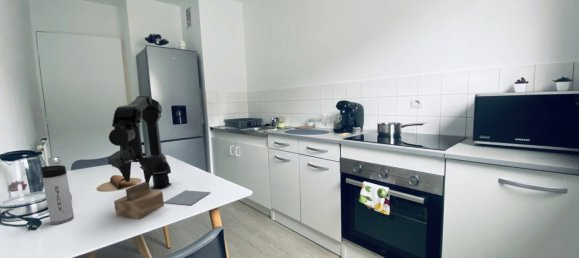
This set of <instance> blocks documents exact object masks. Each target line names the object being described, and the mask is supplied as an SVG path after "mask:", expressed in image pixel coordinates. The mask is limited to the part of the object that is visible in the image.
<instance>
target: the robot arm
mask: <svg viewBox="0 0 579 258" xmlns="http://www.w3.org/2000/svg"><path fill="white" fill-rule="evenodd" d="M162 112H163V109H162V105H161V104H160V102H159V101H158V100H155V99H154V98H152V97H151V95H139V96H136V98H135V99H134V100H133V101H131V102H130V103H129V104H126V105H120V106H117V107H116V109H115V110H114V115H113V118H112V124H111V127H112V128H113V127H114V128H113V129H112V130H111V131H110V132H109V134H108V140H109V141H110V143H111V144H113V146H118V147H119V150H118V151H115V152H114V153H112V154H111V155H109V156H107V161H108V165H109V166H110V165H111V166H112V167H113V168H116V169H118V170H119V172H120V173H121V174H120V175H121V176H123V177H124V179H125V180H126V182H129V181H130V179H131V171H132V163H139V168H140V169H141V170H142V171H143V176H144V182H146V183H149V184H150V180H151V179H152V183H153V185H152V186H151V187H150V189H158V190H162V189H165V188H167V187H169V186H172V183H171V182H170V178H169V174H171V172H172V171H171V166H170V164H169V163H168V161H167V156H165V155H164V153H162V152H163V151H162V145H161V138H160V137H161V135H160V127H159V121H160V119H161V117H162ZM142 120H143V121H144V122H145V123H146V128H147V136H148V144H149V154H148V155H147V153H146V152H143V146H145V142H144V141H142V136H141V129H140V127H141V125H140V123H142Z"/></svg>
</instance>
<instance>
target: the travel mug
mask: <svg viewBox="0 0 579 258" xmlns="http://www.w3.org/2000/svg"><path fill="white" fill-rule="evenodd" d="M65 167H66V166H65V165H64V166H61V165H56V166H49V165H45V166H41V167H40V171H41V175H42V181H43V182H42V183H43V189H44V193H45V199H46V204H47V209H48V216H49V220H50V224H51V225H54V224H55V225H61V224H64V222H65V223H67V221H68V222H69V221H71V220H73V219H74V218H75V215H74V210H73V209H74V208H73V203H72V202H73V201H71V196H72V195H71V196H70V193H71V192H70V186H69V185H70V184H69V179H68V172H67V173H66V169H67V167H66V168H65ZM60 223H61V224H60Z"/></svg>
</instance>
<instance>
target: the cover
mask: <svg viewBox="0 0 579 258" xmlns="http://www.w3.org/2000/svg"><path fill="white" fill-rule="evenodd" d="M125 193H126V195H125V196H123V197H120V198H118V199H115V200H114V201H113V202H114V208H115V209H114V210H115V214H116V215H115V216H116V217H119V218H120V217H121V218H128V219H137V220H141V219H143V218H145V217H147V216H149V215H151V214H152V213H154V212H155V211H157V210H159V209H161V208H163V207H164V206H165V203H164V202H165V201H164V196H163V195H164V194H163V191H161V190H160V191H158V190H151V187H150V182H149V183H146V182H145V181H144V182H140V183H139V184H137V185H134V186H131V187H127V188H125Z"/></svg>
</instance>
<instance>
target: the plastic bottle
mask: <svg viewBox="0 0 579 258" xmlns="http://www.w3.org/2000/svg"><path fill="white" fill-rule="evenodd" d="M61 162H62V160H61V156H55V157H49V158H47V164H48V166H56V165H61V166H65V165H64V164H62V163H61ZM65 168H66V173H67V174H68V170H67V167H66V166H65ZM70 196H71V202H73V196H72V193H71V192H70Z"/></svg>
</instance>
